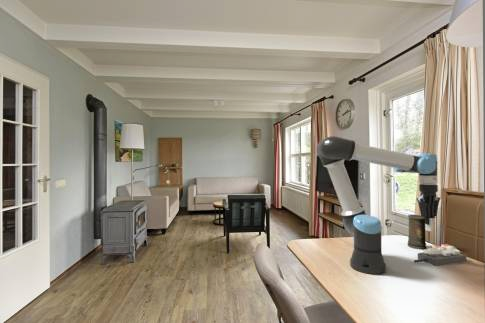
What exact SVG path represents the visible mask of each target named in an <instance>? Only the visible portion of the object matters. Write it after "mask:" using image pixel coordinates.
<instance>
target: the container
mask: <svg viewBox="0 0 485 323" xmlns="http://www.w3.org/2000/svg"><path fill="white" fill-rule="evenodd" d="M407 217H408V241H407V246H408V247H409V248H411V249H417V250H424V249H428V248H427V243H426V230H425V218H424V217H422V216H421V214H408V215H407Z"/></svg>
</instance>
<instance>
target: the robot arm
mask: <svg viewBox="0 0 485 323" xmlns="http://www.w3.org/2000/svg"><path fill="white" fill-rule="evenodd" d="M315 149H316V154H317V157H319V159H320V161H321V163H322V166H323V167H324V168H326V169H327V172H328V175H329V177H330V180H331V182H332V186H333V187H334V190H335V193H336V196H337V198H338V202H339V204H340V207H341V210H342V211H341V214H340V215H341V218H342V225H343V227H344V229H345V231H346V232H347V233H349V234H350V235H351V236H352V237H353V251H352V252H351V257H350V259H349V266H350V268H352V269H353V270H355V271H357V272H361V273H364V274H369V275H383V274H385V273H386V272H387V266H386V263H385V260H384V256H383V253H382V230H383V228H382V221H381V220H380V219H379V218H378V217H376V216H374V215H373V216H372V215H368V214H367V213H366V211H365V208H364V207H362V206H360V203H359V201H358V198H357V195H356V193H355V190H354V187H353V185H352V182H351V180H350V177H349V174H348V172H347V168H346V167H345V164H344V163H345V161H349V162H350V161H351V160H355V161H360V162H365V163H369V164H374V165H380V166H384V167H389V168H392V169H393V171H395V173H401V174H403V173H408V174H418V183H419V185H418V189H419V190H418V191H419V192H420V196H419V197H416V202H417V203H418V207H419V212H420V215H421V216H422V217H424V218H425V231H426V232H434V219H436V218H437V216H438V210H439V205H440V201H441V197H438V196H437V193H438V191H439V189H438V188H439V186H438V164H439V162H438V157H437V154H436V153H431V152H430V153H419V154H418V155H415V154H410V153H409V154H408V153H404V152H399V151H396V150H395V151H394V150H390V149H385V148H380V147H375V146H370V145H365V144H359V143H357V142H356V141H355V140H352V139H349V138H348V139H347V138H343V137H340V136H334V135H331V136H327V137H326V138H323V139H321V140H320V141H319V142H318V143H317V146H316V148H315Z"/></svg>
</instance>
